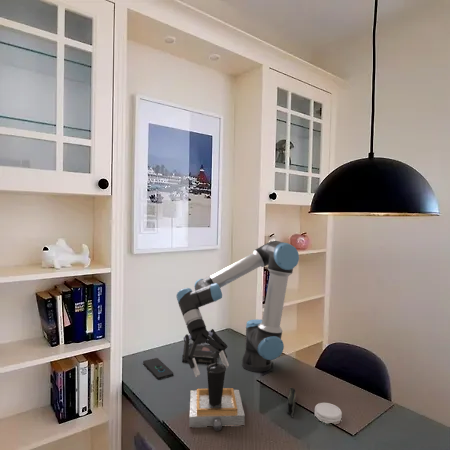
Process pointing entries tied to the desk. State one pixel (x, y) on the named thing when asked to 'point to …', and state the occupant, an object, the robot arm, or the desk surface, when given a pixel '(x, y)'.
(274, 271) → the robot arm
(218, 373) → the drinking cup
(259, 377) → the desk surface
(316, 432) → the desk surface
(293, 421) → the desk surface
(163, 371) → the smart home device
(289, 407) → the mobile phone
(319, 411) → the coaster
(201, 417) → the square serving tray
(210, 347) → the portable cd player
